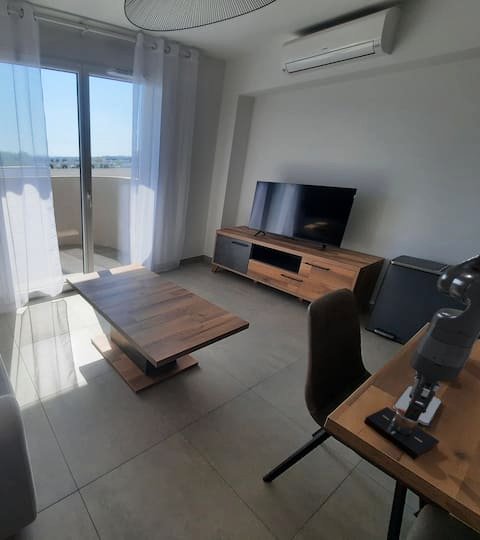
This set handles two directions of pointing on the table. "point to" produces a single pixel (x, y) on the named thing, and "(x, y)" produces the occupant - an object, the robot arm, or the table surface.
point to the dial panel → (407, 443)
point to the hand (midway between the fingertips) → (412, 408)
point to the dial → (403, 423)
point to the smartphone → (431, 409)
